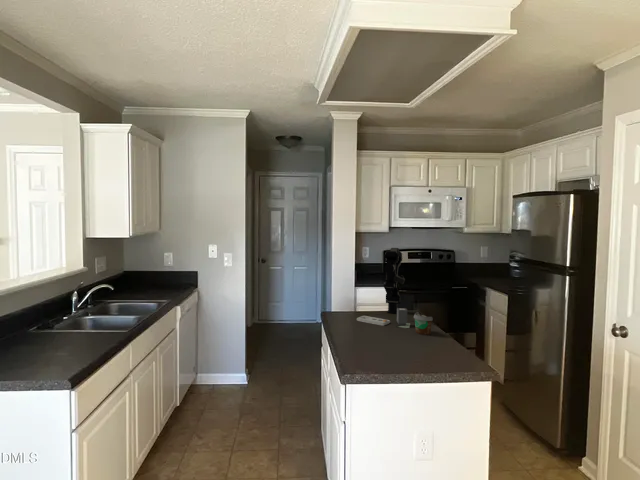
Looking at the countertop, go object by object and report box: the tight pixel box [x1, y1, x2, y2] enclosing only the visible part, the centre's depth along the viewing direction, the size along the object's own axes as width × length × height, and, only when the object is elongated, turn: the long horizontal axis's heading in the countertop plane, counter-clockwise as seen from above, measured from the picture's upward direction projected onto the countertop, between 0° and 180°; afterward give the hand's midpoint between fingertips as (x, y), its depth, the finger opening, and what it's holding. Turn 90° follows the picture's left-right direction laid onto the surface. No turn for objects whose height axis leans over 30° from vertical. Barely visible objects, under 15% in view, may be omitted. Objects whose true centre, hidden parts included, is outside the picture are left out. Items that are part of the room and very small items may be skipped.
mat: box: [395, 322, 411, 329], centre depth 253 cm, size 9×9×1 cm
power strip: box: [356, 315, 391, 326], centre depth 257 cm, size 18×8×3 cm, turn 53°
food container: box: [413, 311, 433, 336], centre depth 237 cm, size 12×6×10 cm, turn 25°
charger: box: [396, 307, 408, 326], centre depth 253 cm, size 5×5×9 cm
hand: (390, 296), depth 271 cm, fingers open, 9 cm apart
